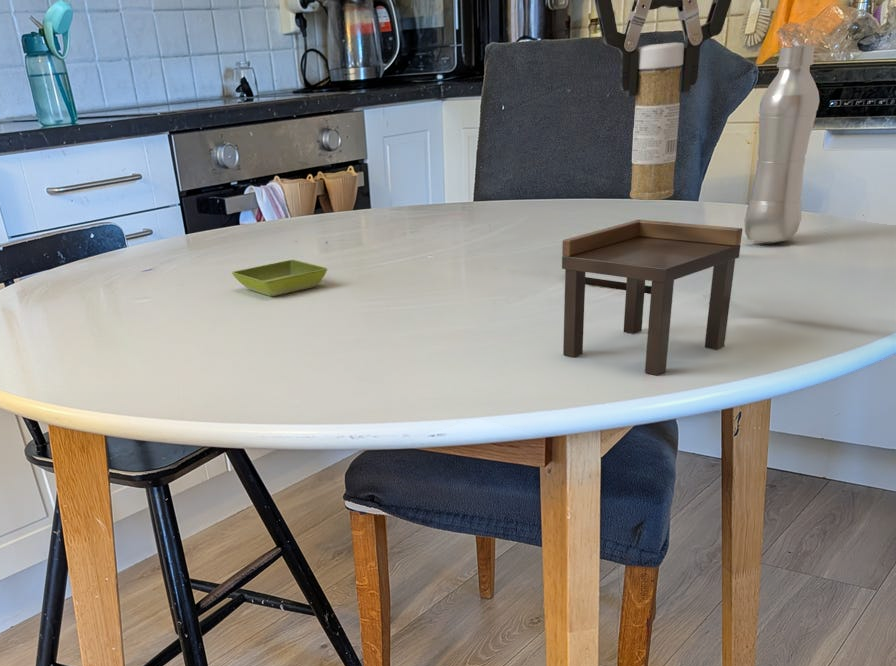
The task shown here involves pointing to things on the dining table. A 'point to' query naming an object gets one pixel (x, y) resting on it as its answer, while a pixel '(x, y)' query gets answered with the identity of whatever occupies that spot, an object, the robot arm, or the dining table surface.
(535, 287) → the dining table surface
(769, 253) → the dining table surface
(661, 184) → the sprinkles bottle
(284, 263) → the green square tray
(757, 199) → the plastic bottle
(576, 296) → the small brown wooden table
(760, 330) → the dining table surface
